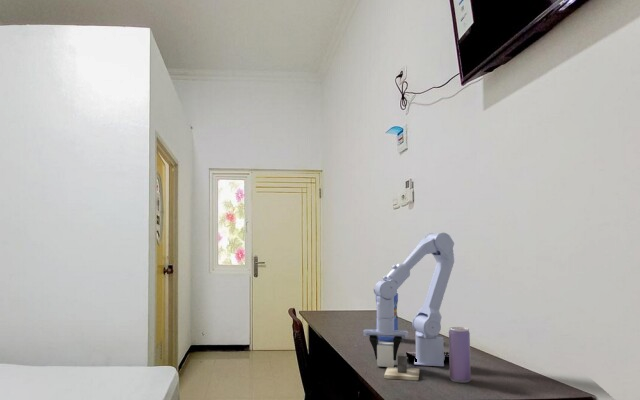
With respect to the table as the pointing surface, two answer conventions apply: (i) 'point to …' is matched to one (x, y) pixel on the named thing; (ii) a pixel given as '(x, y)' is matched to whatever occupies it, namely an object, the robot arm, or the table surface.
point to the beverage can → (459, 354)
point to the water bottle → (394, 320)
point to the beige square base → (402, 370)
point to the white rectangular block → (385, 354)
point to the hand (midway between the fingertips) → (385, 359)
